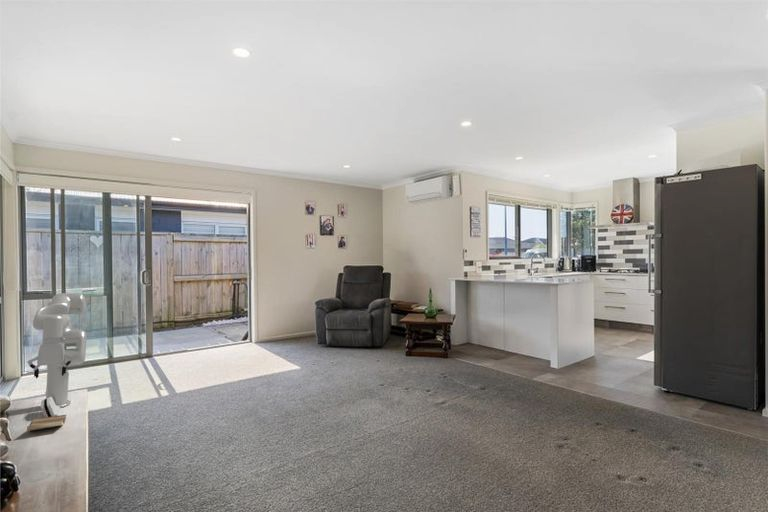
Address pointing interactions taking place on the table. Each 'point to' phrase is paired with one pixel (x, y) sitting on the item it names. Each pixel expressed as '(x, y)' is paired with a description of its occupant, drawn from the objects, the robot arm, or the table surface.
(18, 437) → the table surface
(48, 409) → the white curved device
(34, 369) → the robot arm
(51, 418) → the walnut board
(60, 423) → the oak plank
